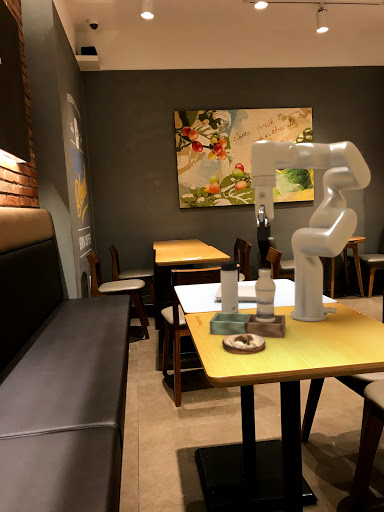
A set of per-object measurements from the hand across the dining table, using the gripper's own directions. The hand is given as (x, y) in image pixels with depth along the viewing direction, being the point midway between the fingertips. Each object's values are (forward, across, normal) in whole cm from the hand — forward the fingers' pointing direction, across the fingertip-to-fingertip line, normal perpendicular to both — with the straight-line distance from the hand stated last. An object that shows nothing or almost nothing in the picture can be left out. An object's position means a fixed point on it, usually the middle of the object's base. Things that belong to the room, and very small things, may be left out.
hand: (264, 238), depth 123 cm
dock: (+30, 0, +5) cm, 30 cm away
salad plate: (+30, +46, +14) cm, 57 cm away
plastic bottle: (+30, 0, 0) cm, 30 cm away
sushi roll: (+31, -14, +5) cm, 34 cm away
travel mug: (+30, +19, +14) cm, 38 cm away
